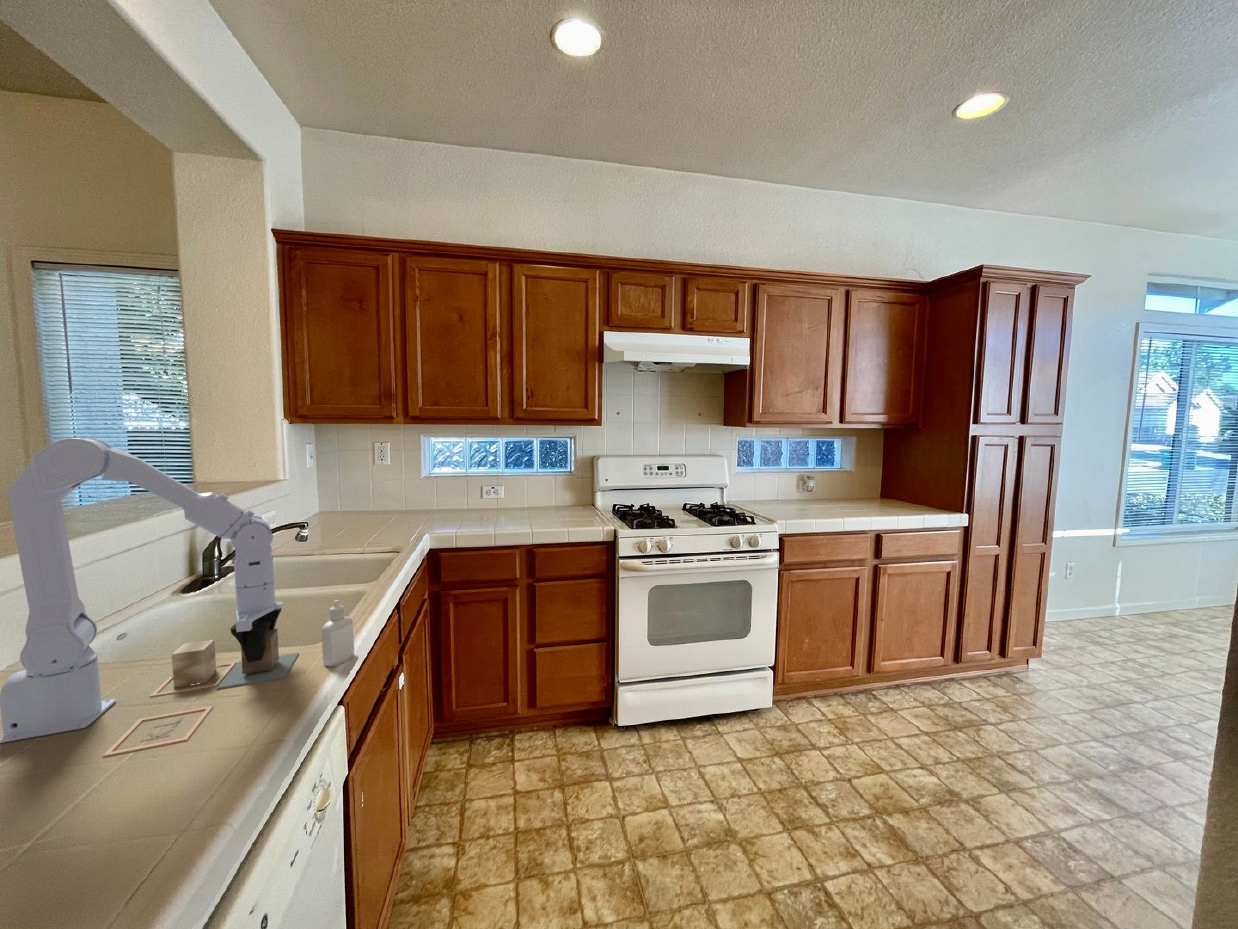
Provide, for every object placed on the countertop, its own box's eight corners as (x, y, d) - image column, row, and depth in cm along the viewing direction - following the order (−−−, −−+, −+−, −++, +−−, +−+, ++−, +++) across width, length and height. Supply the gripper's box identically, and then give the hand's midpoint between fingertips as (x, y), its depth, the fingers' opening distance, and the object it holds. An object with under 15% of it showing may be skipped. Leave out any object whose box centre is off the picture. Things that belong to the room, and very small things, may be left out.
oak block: (174, 687, 84) (171, 654, 84) (186, 675, 88) (183, 643, 88) (206, 682, 86) (203, 649, 85) (216, 670, 90) (214, 639, 89)
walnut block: (242, 674, 87) (240, 641, 86) (250, 663, 91) (248, 632, 91) (272, 669, 88) (270, 637, 88) (278, 659, 93) (277, 628, 92)
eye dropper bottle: (358, 659, 94) (355, 599, 93) (325, 669, 90) (322, 607, 89) (352, 652, 97) (349, 594, 96) (320, 661, 93) (316, 601, 92)
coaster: (216, 690, 83) (216, 687, 83) (237, 664, 92) (237, 662, 92) (285, 678, 87) (285, 676, 87) (298, 654, 96) (298, 653, 96)
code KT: (102, 758, 66) (102, 755, 66) (139, 720, 74) (139, 719, 74) (187, 741, 69) (187, 739, 69) (213, 707, 78) (213, 705, 78)
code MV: (149, 697, 81) (149, 696, 81) (176, 672, 89) (175, 671, 89) (217, 686, 84) (217, 685, 84) (236, 663, 93) (236, 661, 93)
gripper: (269, 592, 83) (273, 668, 84) (290, 570, 97) (294, 635, 98) (219, 598, 81) (224, 676, 82) (248, 574, 94) (252, 641, 95)
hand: (259, 654), depth 89 cm, fingers closed on walnut block, 4 cm apart
